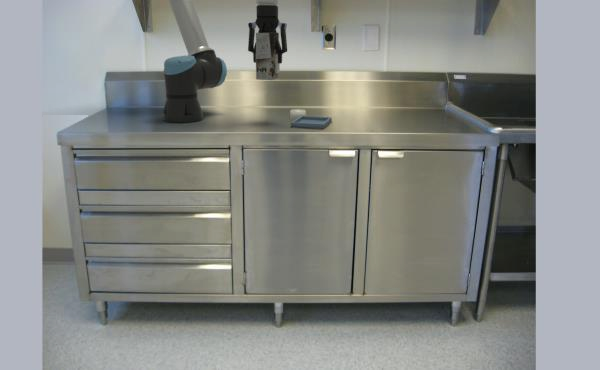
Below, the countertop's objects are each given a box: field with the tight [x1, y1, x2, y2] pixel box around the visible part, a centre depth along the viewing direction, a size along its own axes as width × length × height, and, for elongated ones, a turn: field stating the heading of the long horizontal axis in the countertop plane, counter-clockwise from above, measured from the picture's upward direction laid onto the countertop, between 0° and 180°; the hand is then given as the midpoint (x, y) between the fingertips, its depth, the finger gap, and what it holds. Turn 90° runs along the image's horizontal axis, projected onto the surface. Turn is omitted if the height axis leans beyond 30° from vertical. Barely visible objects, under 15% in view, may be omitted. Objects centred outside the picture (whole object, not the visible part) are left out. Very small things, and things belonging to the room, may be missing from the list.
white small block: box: [289, 108, 307, 121], centre depth 194 cm, size 6×6×4 cm
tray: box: [290, 115, 333, 130], centre depth 184 cm, size 12×14×2 cm
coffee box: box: [255, 32, 280, 81], centre depth 178 cm, size 9×6×16 cm
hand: (267, 72), depth 180 cm, fingers closed on coffee box, 7 cm apart
